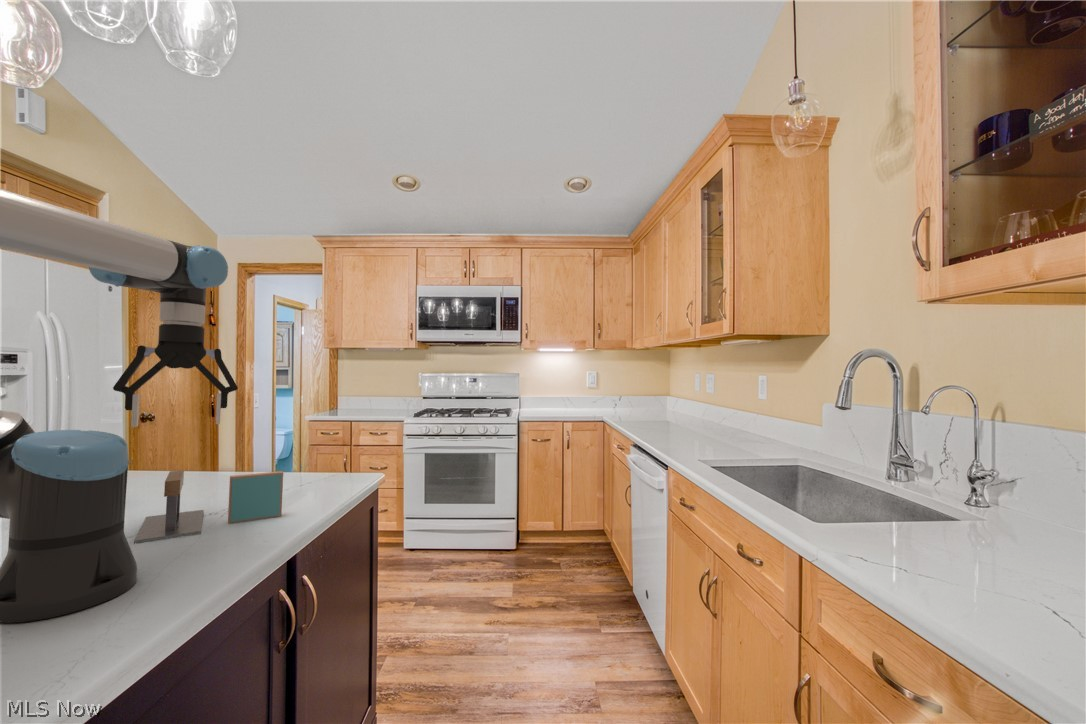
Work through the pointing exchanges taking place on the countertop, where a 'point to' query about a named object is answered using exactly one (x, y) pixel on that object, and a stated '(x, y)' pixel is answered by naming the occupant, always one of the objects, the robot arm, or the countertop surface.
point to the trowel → (171, 515)
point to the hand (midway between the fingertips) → (178, 425)
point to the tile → (255, 496)
